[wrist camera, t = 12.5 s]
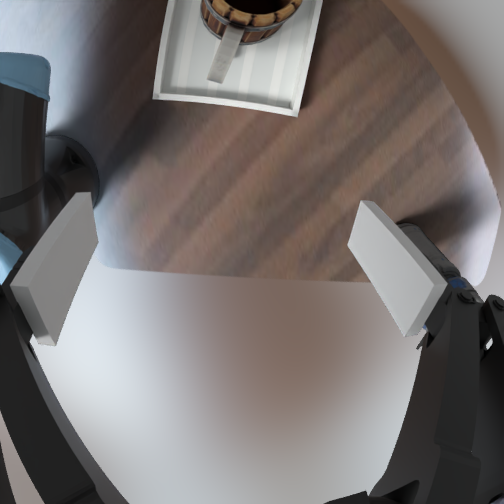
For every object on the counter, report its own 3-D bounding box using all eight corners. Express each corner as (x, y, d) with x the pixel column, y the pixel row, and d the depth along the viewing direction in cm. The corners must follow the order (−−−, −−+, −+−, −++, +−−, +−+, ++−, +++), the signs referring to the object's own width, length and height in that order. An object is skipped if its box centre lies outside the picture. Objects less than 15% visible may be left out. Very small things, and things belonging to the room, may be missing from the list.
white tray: (156, 96, 35) (152, 99, 33) (183, -44, 24) (181, -51, 21) (292, 113, 39) (297, 117, 36) (320, -21, 27) (328, -26, 25)
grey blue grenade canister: (392, 204, 49) (479, 300, 29) (428, 235, 54) (502, 322, 34) (357, 247, 53) (423, 354, 33) (397, 271, 58) (457, 365, 38)
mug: (218, -32, 25) (221, -79, 13) (295, -7, 28) (337, -39, 16) (175, 68, 33) (152, 68, 20) (252, 90, 36) (273, 103, 23)
